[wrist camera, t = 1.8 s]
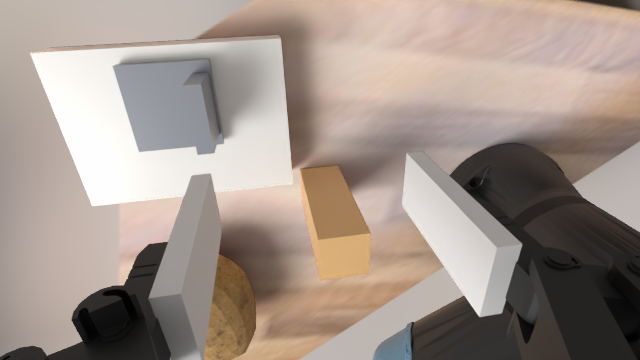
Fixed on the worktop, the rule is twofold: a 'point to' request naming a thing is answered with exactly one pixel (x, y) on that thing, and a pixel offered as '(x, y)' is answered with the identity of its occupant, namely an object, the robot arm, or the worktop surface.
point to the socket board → (181, 163)
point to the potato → (230, 313)
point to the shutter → (171, 104)
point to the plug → (334, 224)
